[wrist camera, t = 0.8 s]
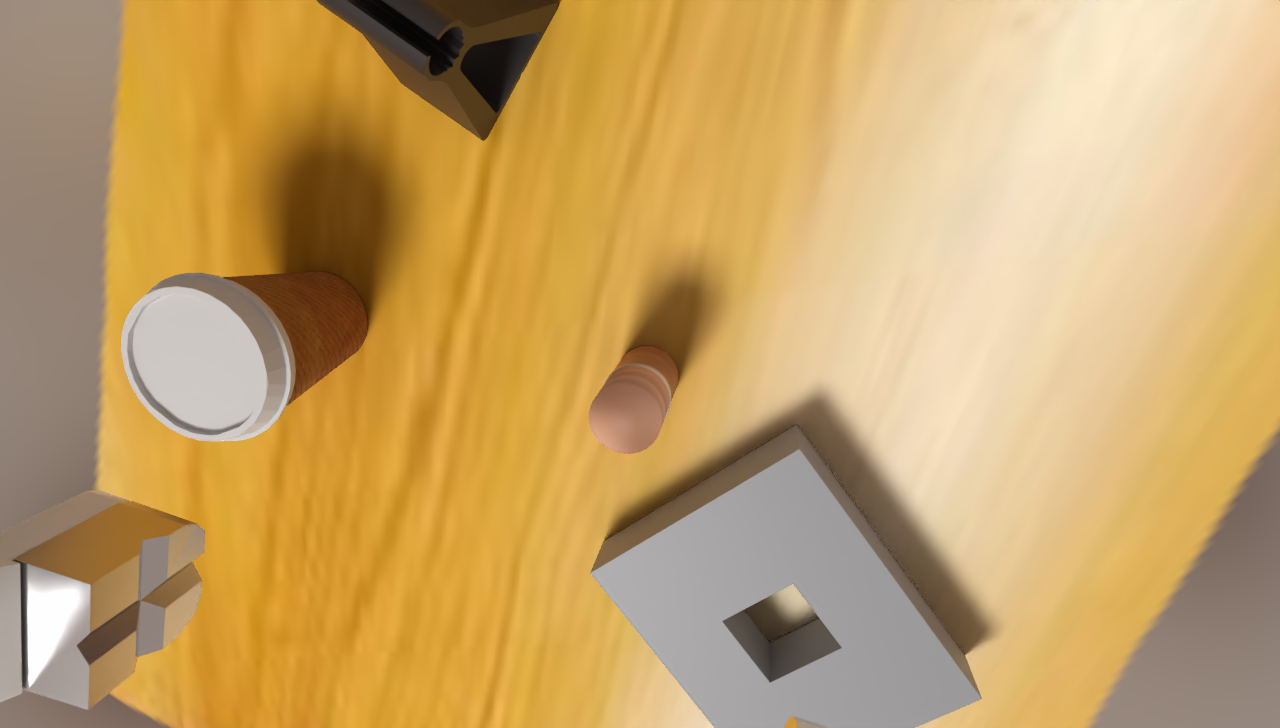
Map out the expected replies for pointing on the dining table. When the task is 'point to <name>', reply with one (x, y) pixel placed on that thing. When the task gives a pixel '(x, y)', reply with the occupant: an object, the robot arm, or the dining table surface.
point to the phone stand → (453, 49)
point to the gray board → (761, 566)
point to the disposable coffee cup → (237, 347)
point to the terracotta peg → (634, 400)
